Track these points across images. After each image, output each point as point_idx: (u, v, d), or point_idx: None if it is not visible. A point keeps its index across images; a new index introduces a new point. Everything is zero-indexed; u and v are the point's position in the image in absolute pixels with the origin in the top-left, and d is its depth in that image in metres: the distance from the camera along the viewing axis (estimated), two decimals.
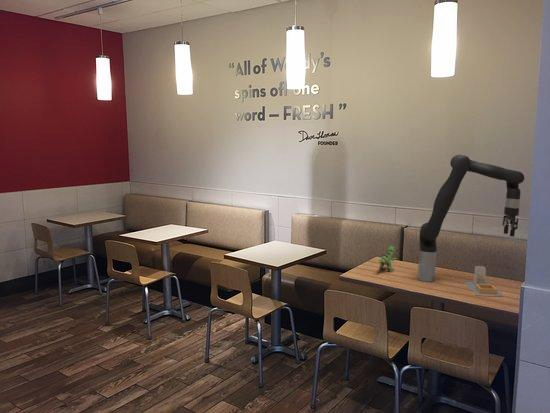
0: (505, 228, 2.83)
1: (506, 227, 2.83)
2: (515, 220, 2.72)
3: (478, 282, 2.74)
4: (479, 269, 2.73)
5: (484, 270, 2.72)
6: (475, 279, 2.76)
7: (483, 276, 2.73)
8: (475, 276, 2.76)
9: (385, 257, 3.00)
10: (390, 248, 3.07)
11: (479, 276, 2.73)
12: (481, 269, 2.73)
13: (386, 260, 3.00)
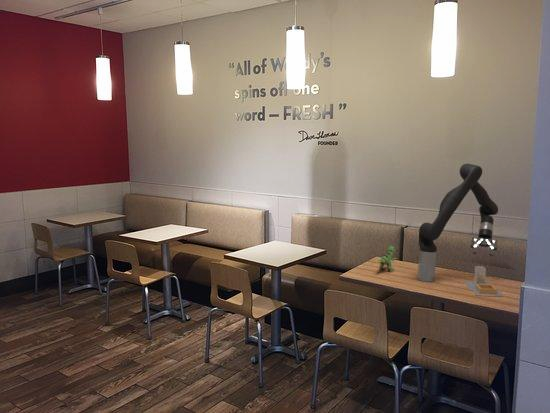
0: (475, 248, 2.87)
1: None
2: None
3: (478, 282, 2.74)
4: (479, 269, 2.73)
5: (484, 270, 2.72)
6: (475, 279, 2.76)
7: (483, 276, 2.73)
8: (475, 276, 2.76)
9: (385, 257, 3.00)
10: (390, 248, 3.07)
11: (479, 276, 2.73)
12: (481, 269, 2.73)
13: (386, 260, 3.00)
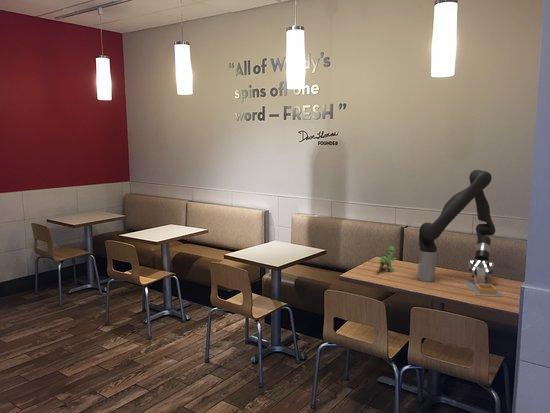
0: (474, 272, 2.76)
1: (474, 271, 2.77)
2: None
3: (478, 282, 2.74)
4: (479, 269, 2.73)
5: (484, 270, 2.72)
6: (475, 279, 2.76)
7: (483, 276, 2.73)
8: (475, 276, 2.76)
9: (385, 257, 3.00)
10: (390, 248, 3.07)
11: (479, 276, 2.73)
12: (481, 269, 2.73)
13: (386, 260, 3.00)
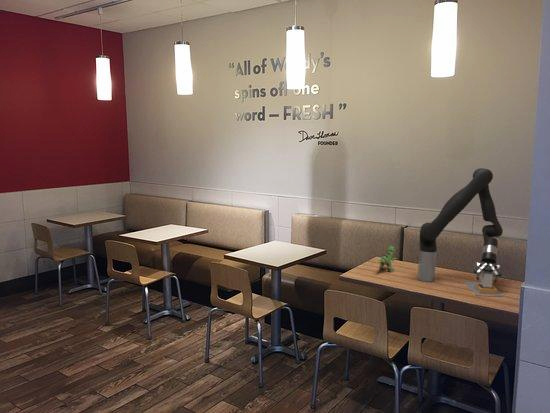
0: (479, 274, 2.65)
1: (479, 273, 2.66)
2: None
3: (484, 288, 2.62)
4: (485, 275, 2.61)
5: (491, 276, 2.61)
6: (481, 285, 2.64)
7: (490, 282, 2.61)
8: (481, 282, 2.64)
9: (385, 257, 3.00)
10: (390, 248, 3.07)
11: (485, 282, 2.61)
12: (488, 275, 2.61)
13: (386, 260, 3.00)
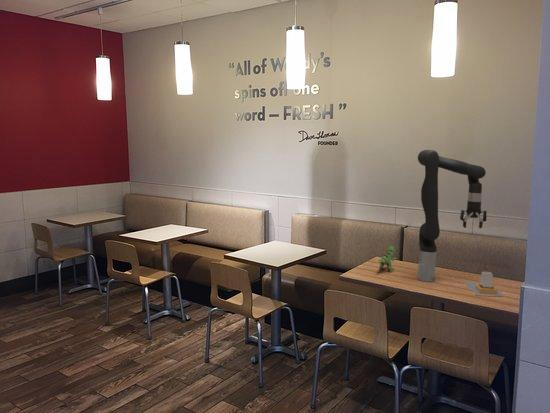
0: None
1: None
2: None
3: (484, 288, 2.62)
4: (485, 275, 2.61)
5: (491, 276, 2.61)
6: (481, 285, 2.64)
7: (490, 282, 2.61)
8: (481, 282, 2.64)
9: (385, 257, 3.00)
10: (390, 248, 3.07)
11: (485, 282, 2.61)
12: (488, 275, 2.61)
13: (386, 260, 3.00)
